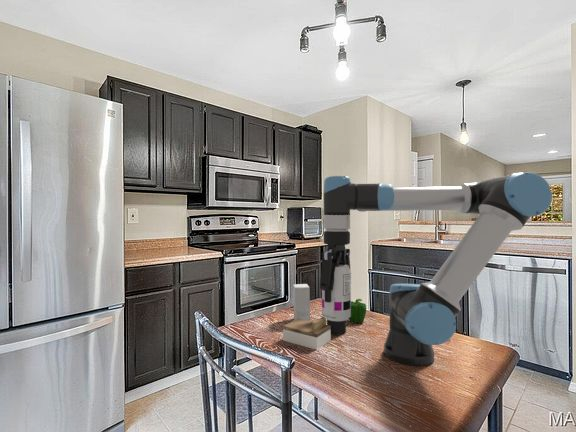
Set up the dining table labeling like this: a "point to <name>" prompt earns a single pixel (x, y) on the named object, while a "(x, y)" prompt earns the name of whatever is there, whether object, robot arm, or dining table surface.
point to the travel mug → (337, 327)
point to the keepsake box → (307, 338)
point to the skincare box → (301, 301)
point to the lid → (308, 326)
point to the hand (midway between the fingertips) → (336, 309)
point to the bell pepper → (357, 311)
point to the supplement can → (340, 295)
